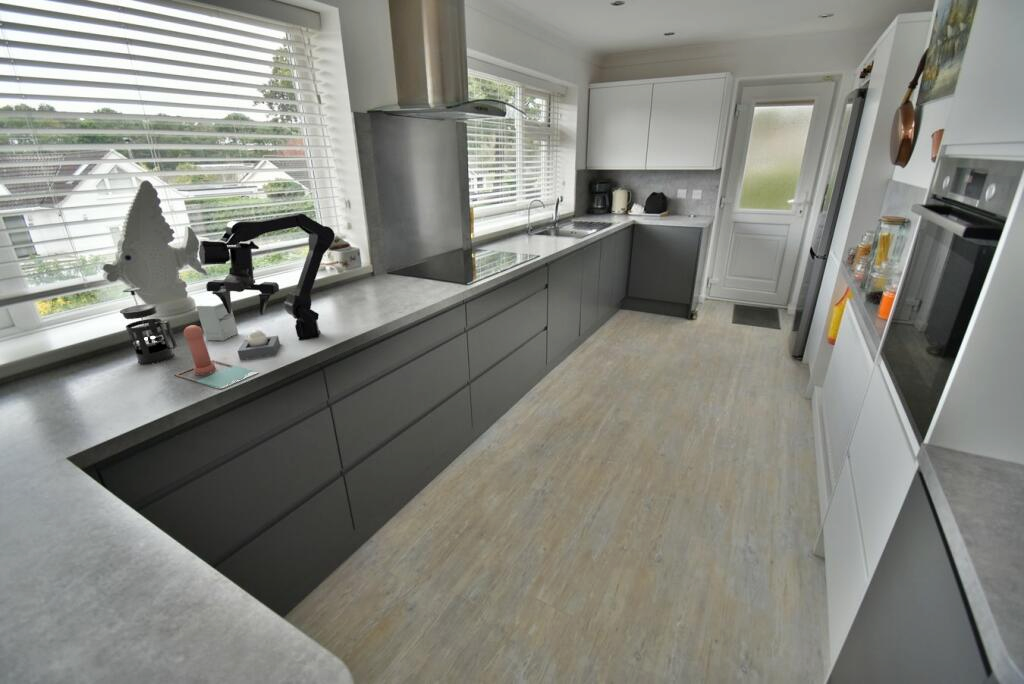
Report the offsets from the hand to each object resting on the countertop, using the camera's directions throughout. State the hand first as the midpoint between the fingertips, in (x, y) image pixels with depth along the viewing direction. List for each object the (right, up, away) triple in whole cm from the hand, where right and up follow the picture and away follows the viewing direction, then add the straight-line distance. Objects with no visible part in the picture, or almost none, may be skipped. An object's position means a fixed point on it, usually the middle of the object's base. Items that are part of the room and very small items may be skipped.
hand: (245, 314), depth 143 cm
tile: (+3, -19, -13) cm, 23 cm away
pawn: (-7, -17, -8) cm, 20 cm away
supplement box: (-19, -7, +19) cm, 28 cm away
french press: (-30, -14, +3) cm, 33 cm away
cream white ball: (+2, -9, +4) cm, 10 cm away
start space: (-7, -17, -8) cm, 20 cm away
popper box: (+2, -12, +5) cm, 13 cm away
